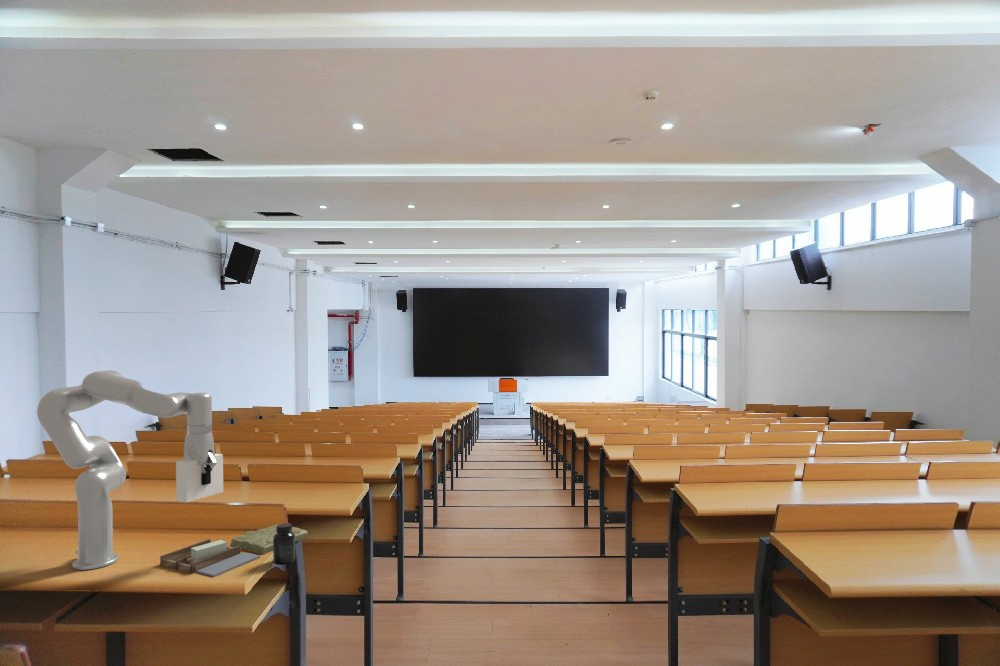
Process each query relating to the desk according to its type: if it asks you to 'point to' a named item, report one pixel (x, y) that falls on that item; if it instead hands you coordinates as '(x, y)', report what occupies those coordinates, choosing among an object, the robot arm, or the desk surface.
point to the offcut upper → (208, 549)
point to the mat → (228, 564)
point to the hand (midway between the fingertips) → (200, 482)
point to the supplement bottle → (284, 544)
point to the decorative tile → (263, 539)
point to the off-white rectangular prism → (197, 480)
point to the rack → (180, 561)
